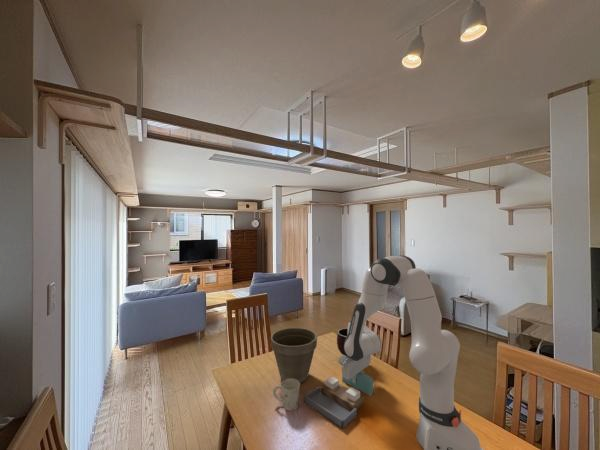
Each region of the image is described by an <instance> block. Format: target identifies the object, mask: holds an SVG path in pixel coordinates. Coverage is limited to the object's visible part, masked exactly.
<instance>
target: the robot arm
mask: <svg viewBox="0 0 600 450" xmlns="http://www.w3.org/2000/svg"><path fill="white" fill-rule="evenodd" d="M396 285H398V286H399V287H400V288H401V289H402V292H403V296H404V301H405V304H406V307H407V311H408V312H407V313H408V315H409V318H410V327H411V328H410V330H411V331H410V332H411V343H410V349H409V355H408V356H409V357H408V358H409V361H410V363H411V365H412V366H413V368H414V369H415V370H416V371H418V373H420V376H419V398H418V413H419V418H418V419H419V421H418V425H417V429H416V431H415V432H416V434H415V437H416V440H417V442H418V443H419V445H420V446H421V447H422V449H423V450H485V448H483V447H481V446H482V445H481V443H480V439H479V437H478V436H477V434H476V433H475V432H474V431H473V430H472V429H471V428H470V427H469V426H468V425H467V424H466V423H465V422H464V421H463V420H462V409H459V411H458V410H457V408H456V406H455V392H454V391H455V390H454V389H455V381H456V380H455V379H456V375H457V367H458V365H457V364H458V357H459V352H460V350H461V344H460V341H459V338H458V337H457V336H456V335H455V333H453V332H451V331H450V330H447V329H442V320H443V315H442V312H441V309H440V306H439V301H438V299H437V295H436V292H435V289H434V286H433V285H432V282H431V280H430V278H429V276H428V274H427V273H426V271H424V269H420V268H417V266H416V264H415V261H414V260H413V259H412V258H411V257H409V256H406V255H401V254H399V255H389V256H386V257H381V258H378V259H376V260H374V261H373V262H372V263H371V265H370V266H369V267H368V268H367V269H366V271H365V274H364V277H363V282H362V287H361V294H360V297H359V298H358V299H359V300H358V302H357V303H356V304H355V306H354V309H353V312H352V316H351V320H350V321H349V322H348V324H347V328H348V332H347V337H346V339H345V342H344V351H345V353H346V355H347V356H348V358H347V359H346V360H345V361H344V363H343V365H342V367H343V371H342V370H341V376H343V377H344V378H345V379H347V380H350V379H351V378H352V382H353V383H356V382H357V379H356V378H355V377H356V374H358V373H359V372H361V373H363V374H364V369H366V368H367V367H368V366H370V364H371V355H374V354H377V353H379V352H381V349H382V345H383V344H382V340H381V337H380V336H379V335H378V334H377V332H375V331H372V330H371V329H370V328H369V327H368V326H367V325H366V322H367V320H369V318H371V317H372V316H373V315H374V314H376V313H378V312H379V311H380V310H382V309H383V308H384V307H385V305H386V302H387V298H388V289H389V286H393V287H394V286H396Z"/></svg>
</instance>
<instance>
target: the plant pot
mask: <svg viewBox="0 0 600 450" xmlns="http://www.w3.org/2000/svg"><path fill="white" fill-rule="evenodd" d="M317 343H318V335H317V334H316V332H314V331H313V330H311V329H308V328H303V327H287V328H281V329H278V330H277V331H275V332H273V333H272V334H271V336H270V346H271V349H272V350H273V354H274V357H275V362H276V364H277V369H278V373H279V376H280V378H281V380H282V382H283V381H284V380H286V379H290V378H293V379H296V380H298V381H299V382H300V384H301V383H304V382H305V381H306V380H307V379H308V376H309V373H310V368H311V366H312V365H311V364H312V361H313V358H314V357H313V356H314V353H315V350H316V348H317V346H318V345H317Z"/></svg>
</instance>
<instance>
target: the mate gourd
mask: <svg viewBox="0 0 600 450" xmlns="http://www.w3.org/2000/svg"><path fill="white" fill-rule="evenodd" d="M347 332H348V327H346V328H340V329H338V330H337V334H336V344H337V349H338V350H339V352H340V354H341V355H340V356H339V357H338V363H339V364H340V365H341V366H343V363H344V361H345V360H346V359H347V358H348V356H347V355H346V353H345V351H344V342H345V339H346V337H347Z"/></svg>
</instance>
